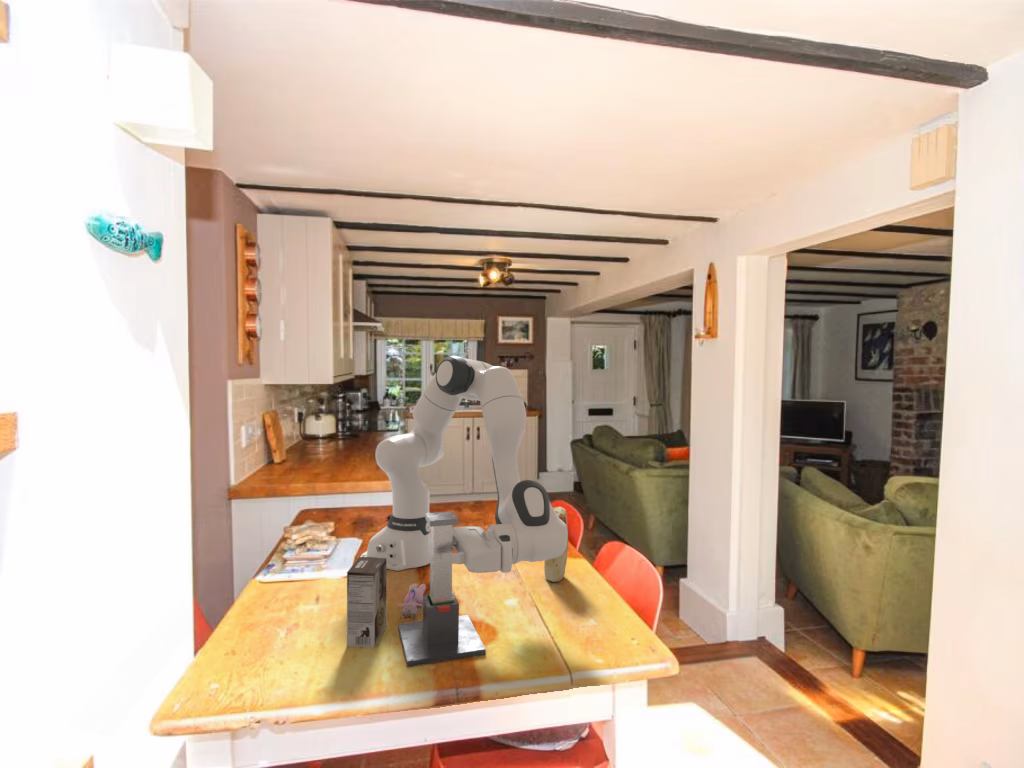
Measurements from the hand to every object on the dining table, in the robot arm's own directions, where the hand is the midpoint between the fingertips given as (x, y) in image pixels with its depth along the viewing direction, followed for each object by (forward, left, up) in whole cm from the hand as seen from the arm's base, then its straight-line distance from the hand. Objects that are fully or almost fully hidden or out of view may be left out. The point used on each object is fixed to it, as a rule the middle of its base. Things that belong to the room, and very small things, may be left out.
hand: (437, 550), depth 114 cm
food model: (+18, +43, -20) cm, 50 cm away
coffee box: (-15, -2, -20) cm, 25 cm away
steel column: (+1, +1, -14) cm, 14 cm away
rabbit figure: (-12, +14, -20) cm, 27 cm away
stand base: (+1, +1, -20) cm, 20 cm away
